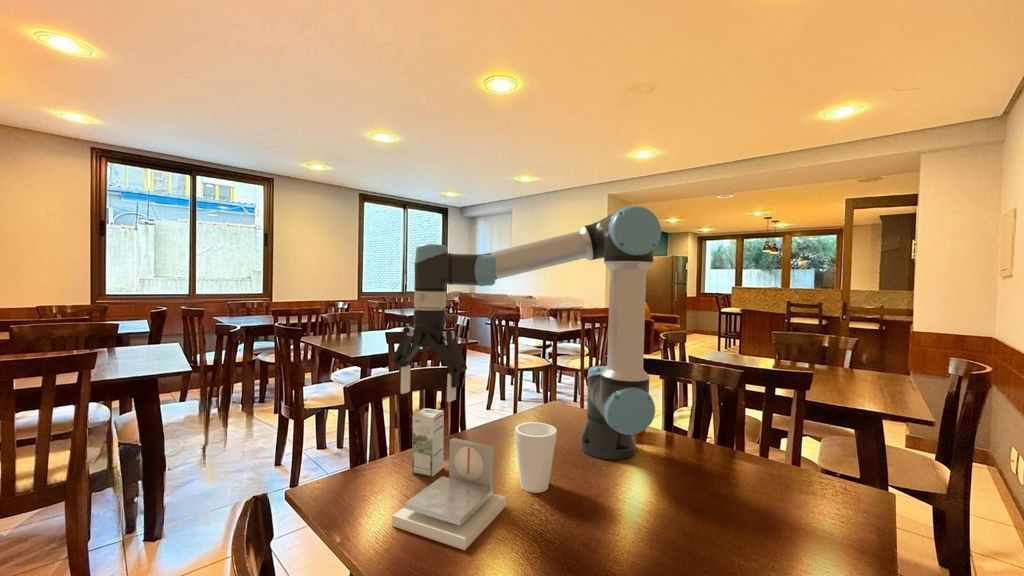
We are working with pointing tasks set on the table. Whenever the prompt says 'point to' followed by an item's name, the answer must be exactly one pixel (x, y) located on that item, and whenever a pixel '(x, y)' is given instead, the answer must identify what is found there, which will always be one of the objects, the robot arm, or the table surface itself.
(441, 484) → the scale pan
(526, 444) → the foam cup
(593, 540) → the table surface
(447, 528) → the scale base
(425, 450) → the syrup box
